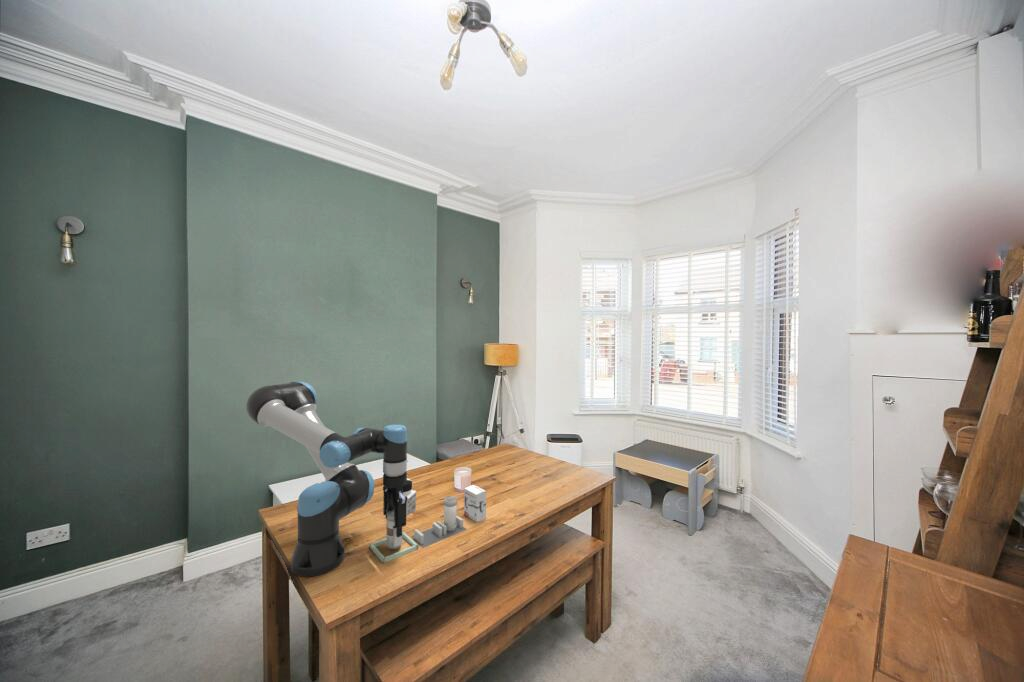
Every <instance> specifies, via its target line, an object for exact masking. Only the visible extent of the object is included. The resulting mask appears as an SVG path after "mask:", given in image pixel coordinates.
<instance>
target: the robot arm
mask: <svg viewBox="0 0 1024 682" xmlns="http://www.w3.org/2000/svg"><path fill="white" fill-rule="evenodd" d="M317 396H318V394H317V392H316V390H315V389H314V387H313V386H312V385H311V384H310V383H307V382H305V381H291V382H287V383H281V384H272V385H270V384H269V385H265V386H261V387H259V388H257V389H256V390H254V391H253V392H252V393H251V394H250V395H249V397H248V398H247V401H246V405H245V407H246V408H245V409H246V411H247V415H248V417H249V418H250V419H251V420H252V421H254V422H255V423H256V424H259V425H260V426H261V427H265V428H267V427H270V428H273V429H274V430H275V431H278V432H279V433H281V434H283V435H285V436H286V437H289V438H290V439H292V440H294V441H296V442H298V443H300V444H301V445H303V446H304V447H305V448H306V450H307V451H308V453H309V455H310V456H311V458H312V460H313V461H314V463H315V464H316V466H317V467H318V470H319V471H320V473H321V474H322V475H323V477H324V479H325V480H324V481H321V482H316V483H313V484H311V485H309V486H308V487H306V488H305V489H303V490H302V492H301V493H300V494H299V496H298V501H297V506H296V507H297V508H296V512H297V542H296V546H295V548H294V551H293V554H292V557H291V560H290V571H291V573H292V574H294V576H299V577H305V578H306V577H315V576H319V575H323V574H326V573H328V572H330V571H332V570H335V568H337V567H339V566H340V565H341V564H342V563H343V561H344V559H345V557H346V556H345V554H346V552H345V546H344V543H343V540H342V538H341V535H340V520H341V519H343V518H344V517H347V516H348V515H349V514H352V513H353V512H354V511H356V510H358V509H360V508H362V507H364V505H366V504H367V503H369V502H370V501H371V499H372V498H373V496H374V494H375V487H376V486H375V485H376V484H375V481H374V478H373V476H372V474H371V473H370V472H369V471H367V470H364V469H359V468H358V466H357V465H356V463H349V462H351V461H354V460H356V459H357V458H360V457H363V456H365V455H367V454H370V453H376V454H383V455H382V456H383V457H382V458H383V459H382V472H383V474H382V485H383V486H382V491H383V506H382V507H383V508H382V509H383V512H382V513H383V515H384V516H385V519H386V520H387V512H388V511H390V510H392V509H394V520H395V526H393V528H394V533H393V546H394V547H396V546H399V545H401V546H402V545H403V537H402V532H403V528H404V527H405V526H407V515H406V503H407V496H405V497H404V496H403V489H402V487H403V486H404V485H405V484H406V482H407V479H408V477H407V475H408V472H407V468H408V465H407V464H408V461H409V460H408V452H407V451H408V428H407V427H406V426H405V425H404V424H389V425H386V426H384V428H383V429H376V428H370V427H359V428H356V429H355V431H353V433H352V434H350V435H348V436H343V435H341V434H340V433H337V432H335V431H333V430H331V429H329V428H328V427H326V426H325V425H324V423H323V421H322V420H321V419H320V417H319V415H318V414H317V413H316V410H317V408H318V406H317V402H318V398H317ZM397 501H398V502H397ZM385 528H386V530H385V531H386V533H385V535H386V537H385V538H386V539H387V524H386V527H385Z"/></svg>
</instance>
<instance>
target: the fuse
mask: <svg viewBox="0 0 1024 682" xmlns="http://www.w3.org/2000/svg"><path fill="white" fill-rule="evenodd" d="M457 504H458V497H456V496H454V495H451V496H446V497H444V498H443V524H444V525H446V526H447V531H446V532H453V531H455V530H456V529H457V523H456V515H457V511H458V508H457V507H458V505H457ZM457 516H458V515H457Z"/></svg>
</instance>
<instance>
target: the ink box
mask: <svg viewBox="0 0 1024 682" xmlns="http://www.w3.org/2000/svg"><path fill="white" fill-rule="evenodd" d="M463 509H464V511H463V513H464V515H465V516H466V517H468V518H469V519H470V520H473V521H474V522H475V523H478V522H481V521H484V520H485V519H487V490H485V489H483V488H481V487H479V486H477V485H474V484H471V485H469V486H467V487H464V488H463Z"/></svg>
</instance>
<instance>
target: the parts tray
mask: <svg viewBox="0 0 1024 682" xmlns="http://www.w3.org/2000/svg"><path fill="white" fill-rule="evenodd" d="M402 539H404V540H405V541H406V542H407V543H408V544H410V547H409V546H408V547H407V548H404V549H402V550H401V549H400V550H399V551H396V552H395V553H392V554H390V555H387V556H384V554H382V553H381V551H380V550H379V549H378V548H377V547H378V546H383V545H384V544H387V539H386V537H385V538H382V539H379V540H377V541H374V542H372V543H369V549H370V550H371V551H372V552H373V553H374V554H375V555H376V557H377V558H378V559H379V560H380V562H381V563H382V564H386V563H387V562H390V561H392V560H395V559H397V558H400V557H402V556H405V555H406V554H410V553H411V552H415V551H416V550H419V544H418V543H417V542H416V541H415V540H414V539H413V538H412V537H411V536H409V535H408V534H407V533H406V532H405V531H402Z"/></svg>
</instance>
